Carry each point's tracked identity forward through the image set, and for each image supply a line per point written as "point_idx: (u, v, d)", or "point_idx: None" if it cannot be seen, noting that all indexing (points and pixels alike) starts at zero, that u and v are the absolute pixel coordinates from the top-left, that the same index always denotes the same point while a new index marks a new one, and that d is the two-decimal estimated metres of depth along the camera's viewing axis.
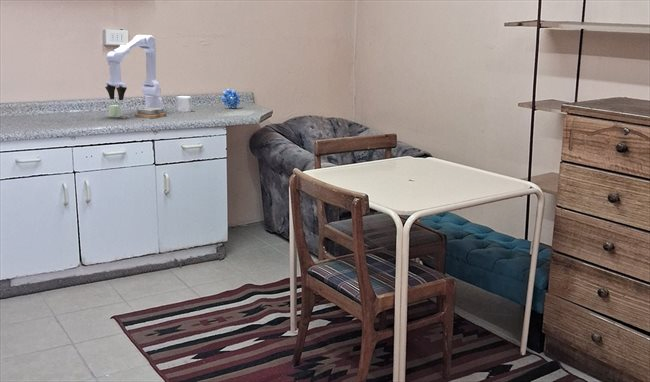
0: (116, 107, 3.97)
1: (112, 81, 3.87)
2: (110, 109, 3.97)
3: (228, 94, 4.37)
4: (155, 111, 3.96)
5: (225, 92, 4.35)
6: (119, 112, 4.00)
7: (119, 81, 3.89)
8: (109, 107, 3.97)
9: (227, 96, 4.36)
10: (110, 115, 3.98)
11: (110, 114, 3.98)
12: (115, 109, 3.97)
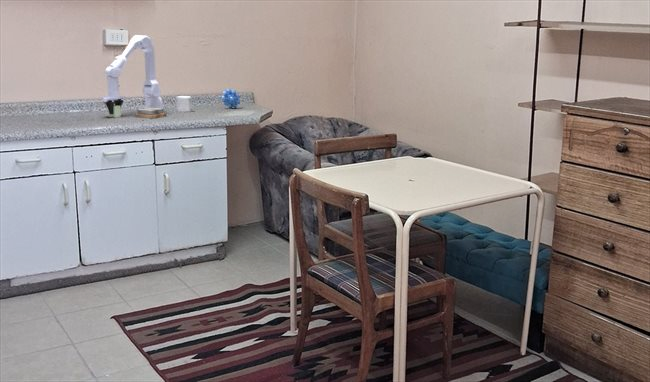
0: (116, 107, 3.97)
1: None
2: None
3: (228, 94, 4.37)
4: (155, 111, 3.96)
5: (225, 92, 4.35)
6: (119, 112, 4.00)
7: (111, 96, 3.95)
8: None
9: (227, 96, 4.36)
10: (110, 115, 3.98)
11: (110, 114, 3.98)
12: (115, 109, 3.97)
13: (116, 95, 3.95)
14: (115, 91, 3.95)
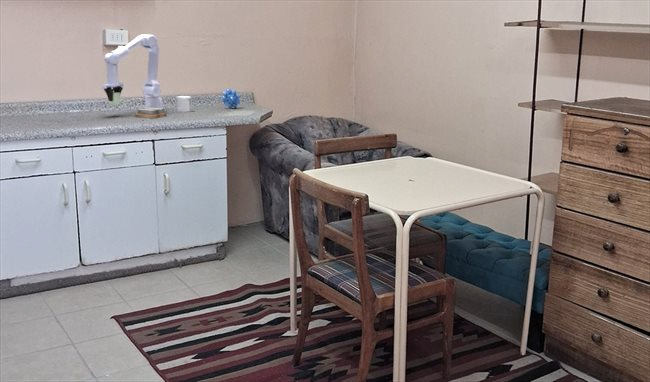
0: (115, 94, 3.95)
1: None
2: None
3: (228, 94, 4.37)
4: (156, 111, 3.97)
5: (225, 92, 4.35)
6: (118, 99, 3.98)
7: (110, 83, 3.93)
8: None
9: (227, 96, 4.36)
10: (109, 102, 3.97)
11: (109, 101, 3.97)
12: (114, 96, 3.95)
13: (115, 82, 3.94)
14: (114, 78, 3.93)
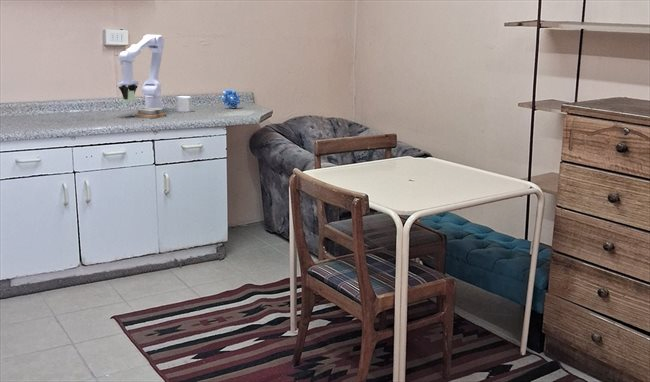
0: (130, 92, 3.96)
1: None
2: None
3: (228, 94, 4.37)
4: (156, 111, 3.97)
5: (225, 92, 4.35)
6: (133, 97, 3.98)
7: (125, 81, 3.93)
8: None
9: (227, 96, 4.36)
10: (124, 100, 3.97)
11: (124, 99, 3.97)
12: (129, 94, 3.95)
13: (130, 80, 3.94)
14: (129, 76, 3.93)
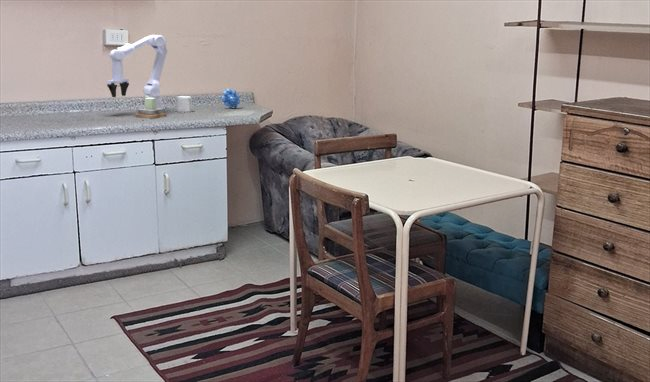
0: (153, 99, 3.98)
1: None
2: (147, 101, 3.97)
3: (228, 94, 4.37)
4: (156, 111, 3.97)
5: (225, 92, 4.35)
6: (155, 104, 4.00)
7: (115, 79, 3.99)
8: (146, 99, 3.97)
9: (227, 96, 4.36)
10: (146, 107, 3.98)
11: (146, 106, 3.98)
12: (152, 101, 3.97)
13: (120, 78, 3.99)
14: (119, 74, 3.98)
